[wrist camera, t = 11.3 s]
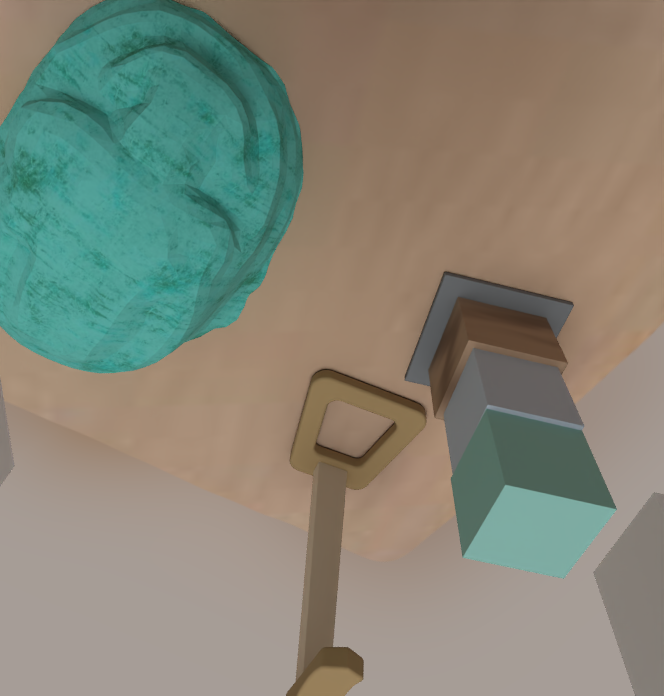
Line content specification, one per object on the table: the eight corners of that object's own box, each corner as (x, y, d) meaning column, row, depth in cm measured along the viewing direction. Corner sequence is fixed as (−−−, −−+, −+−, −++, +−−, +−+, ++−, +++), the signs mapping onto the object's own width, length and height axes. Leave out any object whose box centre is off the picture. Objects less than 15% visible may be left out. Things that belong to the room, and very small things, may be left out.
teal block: (486, 408, 34) (505, 484, 29) (582, 430, 35) (616, 509, 30) (450, 478, 38) (462, 557, 33) (538, 497, 38) (563, 578, 33)
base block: (457, 296, 44) (468, 340, 39) (546, 317, 45) (568, 363, 40) (428, 370, 48) (434, 418, 43) (509, 388, 48) (525, 438, 43)
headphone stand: (431, 407, 51) (463, 662, 32) (375, 487, 56) (377, 742, 38) (318, 364, 49) (285, 608, 30) (273, 451, 55) (222, 701, 36)
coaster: (444, 271, 43) (445, 274, 43) (572, 302, 44) (573, 305, 44) (404, 376, 49) (405, 380, 49) (518, 402, 50) (519, 406, 49)
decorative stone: (-52, 263, 46) (-146, 331, 38) (84, -92, 33) (-13, -108, 25) (180, 394, 52) (143, 477, 43) (374, 137, 39) (375, 185, 30)
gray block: (473, 347, 39) (487, 404, 34) (557, 367, 40) (584, 426, 35) (443, 414, 43) (452, 475, 38) (522, 431, 43) (541, 494, 38)
